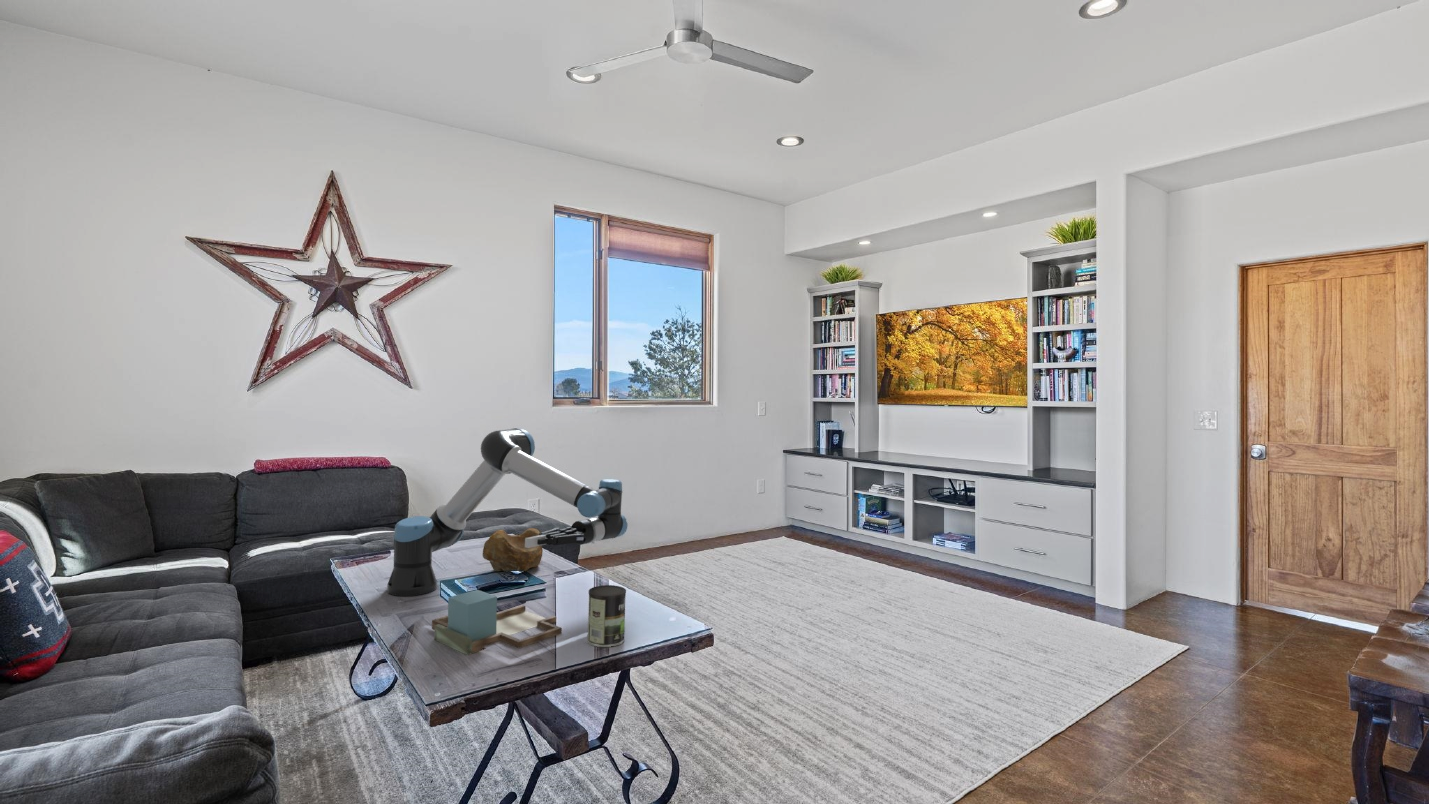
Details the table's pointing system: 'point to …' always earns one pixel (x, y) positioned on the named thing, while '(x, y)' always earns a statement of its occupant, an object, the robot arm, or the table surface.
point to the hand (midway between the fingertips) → (526, 543)
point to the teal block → (473, 614)
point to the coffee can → (606, 615)
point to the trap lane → (498, 631)
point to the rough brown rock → (512, 551)
